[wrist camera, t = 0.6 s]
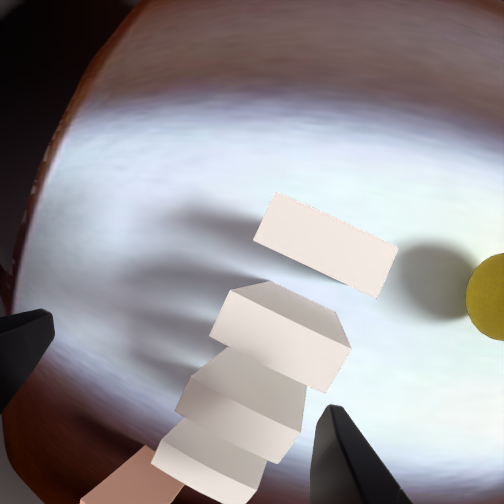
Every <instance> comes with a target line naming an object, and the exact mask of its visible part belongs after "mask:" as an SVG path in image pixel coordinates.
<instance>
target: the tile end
mask: <svg viewBox="0 0 504 504" xmlns="http://www.w3.org/2000/svg"><path fill="white" fill-rule="evenodd" d="M253 241H255V242H257V243H259V244H261V245H264V246H266V247H268V248H270V249H272V250H274V251H276V252H279V253H281V254H283V255H285V256H287V257H289V258H291V259H294V260H296V261H298V262H300V263H302V264H304V265H306V266H308V267H311V268H313V269H315V270H317V271H319V272H321V273H323V274H325V275H328V276H330V277H332V278H334V279H336V280H338V281H340V282H342V283H344V284H347V285H349V286H351V287H353V288H355V289H357V290H359V291H361V292H363V293H365V294H368V295H370V296H372V297H374V298H376V299H377V297H378V295H379V293H380V291H381V289H382V286H383V284H384V282H385V280H386V277H387V275H388V273H389V270H390V268H391V266H392V263H393V261H394V259H395V256H396V254H397V251H398V249H399V248H398V247H396V246H394V245H392V244H390V243H388V242H386V241H384V240H382V239H380V238H378V237H376V236H373V235H371V234H369V233H367V232H365V231H363V230H361V229H359V228H357V227H355V226H352V225H350V224H348V223H346V222H344V221H342V220H340V219H337V218H335V217H333V216H331V215H329V214H326V213H324V212H322V211H320V210H317V209H315V208H313V207H311V206H308V205H306V204H304V203H301V202H299V201H297V200H294V199H292V198H290V197H287V196H285V195H283V194H280V193H278V192H275V194H274V196H273V198H272V200H271V202H270V204H269V207H268V209H267V211H266V213H265V215H264V217H263V219H262V222H261V224H260V226H259V228H258V230H257V232H256V235H255V237H254V239H253Z"/></svg>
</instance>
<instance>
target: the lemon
mask: <svg viewBox="0 0 504 504" xmlns="http://www.w3.org/2000/svg"><path fill="white" fill-rule="evenodd" d="M466 307H467V311H468V315H469V317H470V319H471V321H472V323H473V324H474V325H475V326H476V328H477V329H478V330H479V331H480V332H481V333H483V334H485V335H486V336H488V337H490V338H492V339H495V340H501V341H504V253H501V254H497V255H494V256H491V257H489V258H488V259H486V260H485V261H483V262H482V263H481V264H480V265H479V266H478V267H477V268H476V269H475V270H474V272H473V274H472V276H471V277H470V280H469V283H468V286H467V291H466Z"/></svg>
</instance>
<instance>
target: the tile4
mask: <svg viewBox="0 0 504 504" xmlns="http://www.w3.org/2000/svg"><path fill="white" fill-rule="evenodd" d="M209 336H210V337H212V338H214V339H215V340H217V341H219V342H221V343H223V344H225V345H226V346H228V347H230V348H232V349H234V350H236V351H238V352H240V353H241V354H243V355H245V356H247V357H249V358H251V359H253V360H255V361H257V362H259V363H261V364H263V365H265V366H267V367H269V368H271V369H273V370H275V371H277V372H279V373H281V374H283V375H285V376H288V377H290V378H292V379H294V380H296V381H298V382H300V383H303V384H305V385H307V386H309V387H311V388H314V389H316V390H318V391H320V392H323V393H325V394H326V392H327V391H328V389H329V387H330V386H331V384H332V382H333V381H334V379H335V377H336V376H337V374H338V372H339V370H340V369H341V367H342V365H343V363H344V362H345V360H346V358H347V356H348V354H349V353H350V351H351V346H350V344H349V341H348V339H347V337H346V334H345V332H344V330H343V327H342V325H341V323H340V320H339V318H338V316H337V313H336V312H335V311H333V310H331V309H329V308H327V307H324V306H322V305H320V304H318V303H316V302H314V301H312V300H310V299H308V298H306V297H303V296H301V295H299V294H297V293H295V292H293V291H291V290H289V289H287V288H285V287H283V286H281V285H278V284H276V283H274V282H272V281H268V282H263V283H259V284H254V285H250V286H245V287H241V288H236V289H232V290H230V291H229V293H228V295H227V297H226V300H225V302H224V304H223V306H222V308H221V310H220V313H219V315H218V317H217V319H216V321H215V323H214V326H213V328H212V330H211V332H210V334H209Z"/></svg>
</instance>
